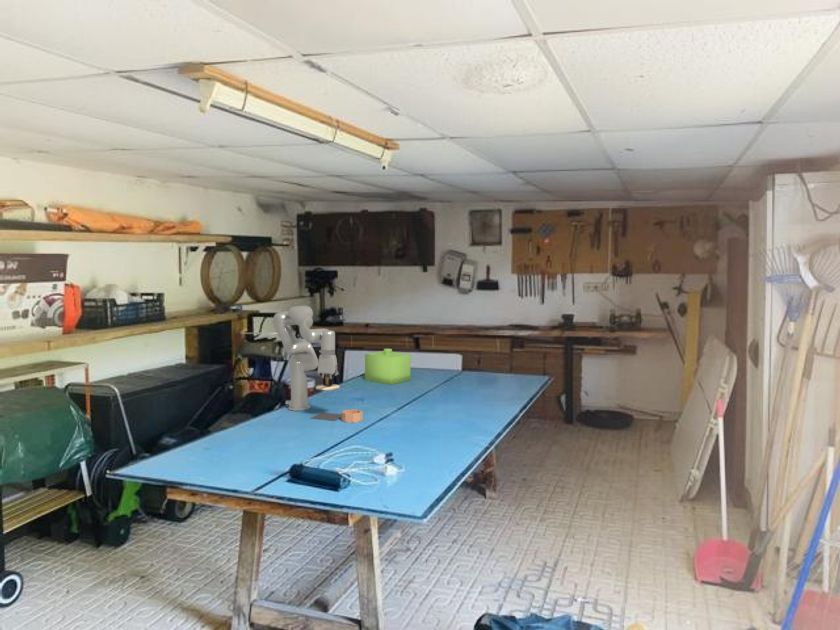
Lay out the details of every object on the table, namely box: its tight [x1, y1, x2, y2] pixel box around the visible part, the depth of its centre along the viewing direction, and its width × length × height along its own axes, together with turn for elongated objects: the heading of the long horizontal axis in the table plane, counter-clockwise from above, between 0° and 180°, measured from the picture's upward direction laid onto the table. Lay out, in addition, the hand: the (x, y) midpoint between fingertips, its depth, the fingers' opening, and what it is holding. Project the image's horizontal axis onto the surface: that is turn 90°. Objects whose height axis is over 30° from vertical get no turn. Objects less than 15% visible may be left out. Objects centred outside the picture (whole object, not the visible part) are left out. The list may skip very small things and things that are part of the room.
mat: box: [309, 412, 342, 422], centre depth 366 cm, size 15×15×1 cm
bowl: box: [341, 409, 364, 424], centre depth 360 cm, size 11×11×5 cm
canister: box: [364, 348, 412, 386], centre depth 474 cm, size 25×21×23 cm
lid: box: [315, 374, 340, 391], centre depth 365 cm, size 13×13×7 cm
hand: (327, 385), depth 365 cm, fingers closed on lid, 2 cm apart
